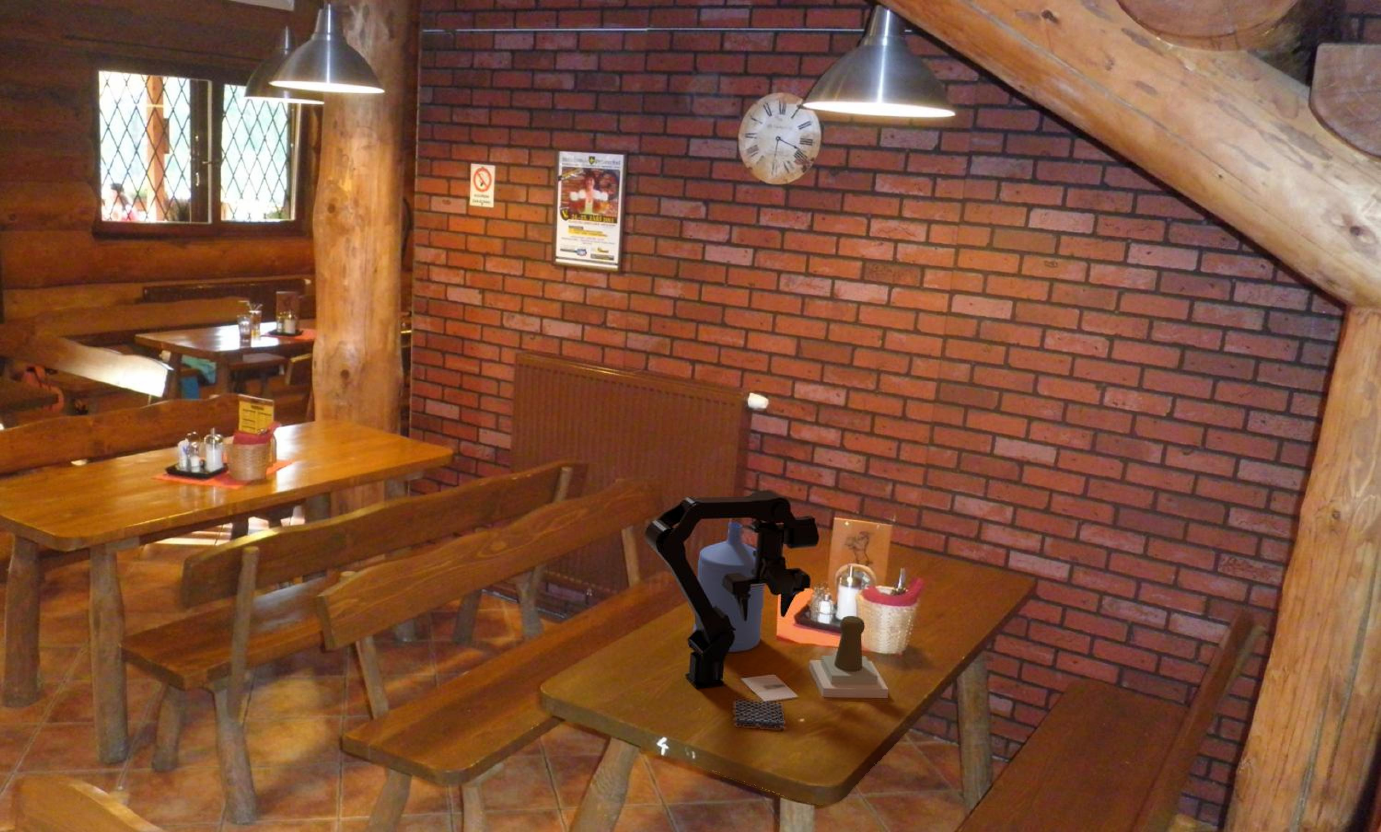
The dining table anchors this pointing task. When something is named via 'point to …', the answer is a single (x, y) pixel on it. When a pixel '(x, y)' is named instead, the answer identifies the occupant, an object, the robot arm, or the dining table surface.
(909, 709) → the dining table surface
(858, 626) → the brown tapered knobbed post
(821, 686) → the tower base
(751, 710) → the woven mat
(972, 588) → the dining table surface
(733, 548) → the water jug
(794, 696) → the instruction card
